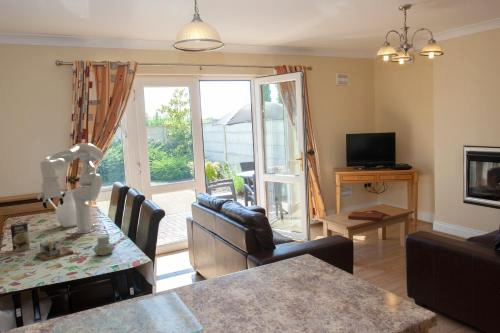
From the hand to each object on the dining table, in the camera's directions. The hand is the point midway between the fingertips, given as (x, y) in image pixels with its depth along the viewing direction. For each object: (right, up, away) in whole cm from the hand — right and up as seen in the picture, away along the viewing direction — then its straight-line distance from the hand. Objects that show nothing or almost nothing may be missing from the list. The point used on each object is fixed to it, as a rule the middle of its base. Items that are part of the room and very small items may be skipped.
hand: (53, 206), depth 246 cm
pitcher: (-16, -20, +51) cm, 57 cm away
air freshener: (+40, -25, -22) cm, 52 cm away
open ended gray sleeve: (+8, -25, -19) cm, 33 cm away
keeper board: (+10, -26, -19) cm, 34 cm away
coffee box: (-18, -27, -4) cm, 32 cm away
